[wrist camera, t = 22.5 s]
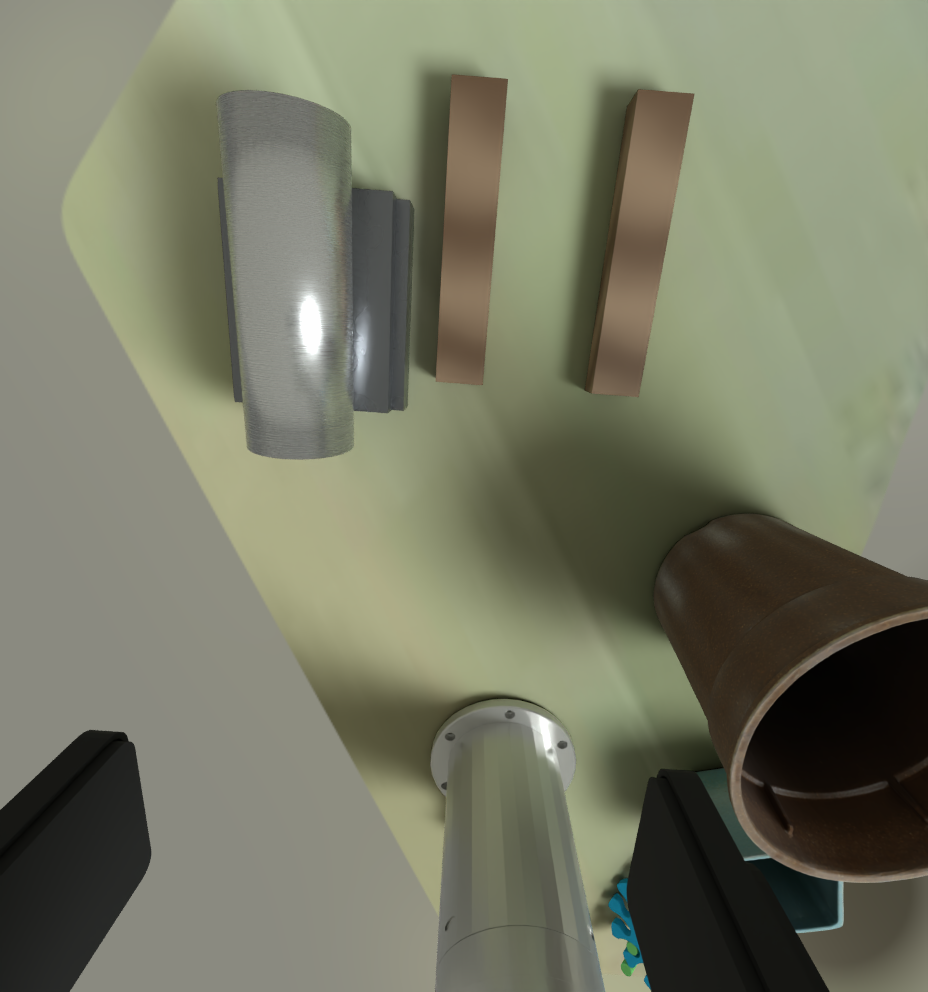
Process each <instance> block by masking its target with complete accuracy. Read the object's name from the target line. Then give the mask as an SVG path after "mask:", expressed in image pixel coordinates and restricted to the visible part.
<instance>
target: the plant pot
mask: <svg viewBox="0 0 928 992" xmlns="http://www.w3.org/2000/svg"><path fill="white" fill-rule="evenodd" d="M654 607H655V610H656V614H657V617H658V619H659V621H660V623H661V626H662V628H663V629H664V631H665V633H666V635H667V637H668V639H669V641H670V643H671V645H672V647H673V649H674V651H675V653H676V655H677V657H678V659H679V661H680V663H681V665H682V667H683V669H684V671H685V674H686V676H687V678H688V680H689V682H690V684H691V687H692V689H693V691H694V693H695V695H696V697H697V699H698V701H699V703H700V705H701V707H702V709H703V712H704V714H705V716H706V718H707V720H708V727H709V733H710V736H711V740H712V743H713V745H714V747H715V750H716V752H717V754H718V756H719V758H720V761H721V763H722V765H723V767H724V769H725V772H726V774H727V787H728V793H729V799H730V802H731V805H732V807H733V810H734V813H735V815H736V817H737V819H738V821H739V823H740V825H741V826H742V828H743V830H744V831H745V833H746V834H747V835H748V837H749V838H750V839H751V840H752V841H753V842H754V843H755V844H756V845H757V846H758V847H759V848H760V849H761V850H762V851H764V852H765V853H766V854H767V855H769V856H770V857H771V858H773V859H775V860H776V861H778V862H780V863H782V864H783V865H785V866H787V867H790V868H792V869H794V870H797V871H799V872H802V873H804V874H807V875H810V876H814V877H819V878H823V879H828V880H835V881H842V882H859V883H860V882H861V883H865V882H866V883H868V882H869V883H871V882H888V881H895V880H904V879H911V878H917V877H922V876H926V875H928V580H923V579H919V578H914V577H907V576H905V575H903V574H900V573H898V572H896V571H893V570H891V569H888V568H886V567H884V566H882V565H880V564H877V563H875V562H873V561H870V560H868V559H866V558H863V557H861V556H859V555H857V554H854V553H852V552H850V551H848V550H845V549H843V548H841V547H839V546H836V545H834V544H832V543H830V542H828V541H825V540H823V539H821V538H819V537H817V536H814V535H812V534H810V533H808V532H806V531H803V530H801V529H799V528H797V527H795V526H793V525H791V524H789V523H787V522H785V521H782V520H780V519H777V518H774V517H770V516H766V515H760V514H735V515H729V516H724V517H720V518H717V519H714V520H711V521H710V523H709V524H707V525H706V526H705V527H703V528H701V529H699V530H697V531H695V532H693V533H691V534H688V535H685V536H684V537H683V538H682V539H681V540H680V541H679V542H677V543H676V544H675V546H674V547H673V548H672V549H671V550H670V552H669V553H668V554H667V556H666V557H665V559H664V561H663V563H662V565H661V567H660V569H659V571H658V574H657V577H656V581H655V586H654Z"/></svg>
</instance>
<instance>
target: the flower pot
mask: <svg viewBox="0 0 928 992" xmlns="http://www.w3.org/2000/svg"><path fill="white" fill-rule="evenodd" d="M696 773H697V774H698V776H699V777H700V779H701V781H702V782H703V784H704V786H705V788H706V790H707V792H708V794H709V795H710V797H711V799H712V801H713V803H714V805H715V807H716V808H717V810H718V812H719V814H720V816H721V818H722V820H723V821H724V823H725V825H726V827H727V829H728V831H729V832H730V834H731V836H732V838H733V840H734V842H735V844H736V845H737V847H738V849H739V851H740V853H741V855H742V857H743V858H744V860H745V862H749V863H752V864H754V865H755V866H756V867H757V868H758V869H759V870H760V871H761V872H762V874H763V875H764V877H765V878H766V880H767V881H768V883H769V885H770V886H771V888H772V890H773V892H774V894H775V895H776V897H777V899H778V901H779V903H780V904H781V906H782V908H783V910H784V911H785V913H786V915H787V917H788V919H789V920H790V922H791V924H792V926H793V927H794V929H795V931H796V933H803V932H813V931H822V930H831V929H835V928H839V927H842V925H843V920H844V918H843V914H844V913H843V910H844V909H843V882H842V881H835V880H828V879H823V878H819V877H814V876H810V875H807V874H804V873H802V872H799V871H797V870H794V869H792V868H790V867H787V866H785V865H783V864H782V863H780V862H778V861H776V860H775V859H773V858H771V857H770V856H769V855H767V854H766V853H765V852H764V851H762V850H761V849H760V848H759V847H758V846H757V845H756V844H755V843H754V842H753V841H752V840H751V839H750V838H749V837H748V835H747V834H746V833H745V831H744V830H743V828H742V826H741V825H740V823H739V821H738V819H737V817H736V815H735V813H734V810H733V807H732V805H731V802H730V799H729V793H728V787H727V774H726V772H725V769H724V768H722V769H715V770H708V771H701V772H696Z"/></svg>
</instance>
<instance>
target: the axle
mask: <svg viewBox="0 0 928 992" xmlns="http://www.w3.org/2000/svg"><path fill="white" fill-rule="evenodd" d="M216 107H217V118H218V129H219V140H220V152H221V163H222V174H223V185H224V196H225V208H226V219H227V230H228V241H229V252H230V264H231V275H232V286H233V297H234V308H235V320H236V331H237V342H238V353H239V364H240V376H241V387H242V398H243V409H244V420H245V432H246V443H247V448H248V450H249V451H251V452H253V453H255V454H258V455H261V456H266V457H272V458H280V459H317V458H326V457H332V456H337V455H340V454H344V453H346V452H348V451H350V450H351V449H352V448H353V447H354V407H353V285H352V164H351V126H350V125H349V123H348V122H347V121H346V120H345V119H344V118H343V117H342V116H340V115H339V114H337V113H335V112H334V111H332V110H330V109H328V108H326V107H324V106H321V105H319V104H316V103H313V102H311V101H308V100H304V99H301V98H298V97H294V96H289V95H285V94H280V93H274V92H266V91H253V90H243V91H233V92H228V93H225V94H222V95H221V96H219V97H218V98H217V101H216Z"/></svg>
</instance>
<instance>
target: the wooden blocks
mask: <svg viewBox="0 0 928 992" xmlns="http://www.w3.org/2000/svg"><path fill="white" fill-rule="evenodd" d="M507 84H508V79H502V78H489V77H477V76H464V75H452V80H451V99H450V118H449V137H448V156H447V175H446V194H445V213H444V232H443V251H442V270H441V289H440V309H439V328H438V347H437V366H436V382H448V383H461V384H474V385H483V374H484V362H485V350H486V338H487V326H488V313H489V301H490V289H491V277H492V265H493V253H494V241H495V229H496V217H497V205H498V192H499V180H500V168H501V156H502V144H503V132H504V120H505V108H506V96H507ZM693 99H694V94H691V93H678V92H666V91H653V90H641V89H638V91H637V92H636V94H635V95H634V97H633V98H632V100H631V102H630V103H629V105H628V106H627V110H626V117H625V124H624V130H623V137H622V144H621V150H620V157H619V164H618V171H617V177H616V184H615V191H614V197H613V204H612V211H611V218H610V224H609V231H608V238H607V244H606V251H605V258H604V265H603V271H602V278H601V285H600V292H599V298H598V305H597V312H596V318H595V325H594V332H593V339H592V345H591V352H590V359H589V365H588V372H587V379H586V386H585V391H588V392H590V393H593V394H607V395H620V396H633V397H639V392H640V386H641V381H642V375H643V370H644V365H645V359H646V354H647V348H648V343H649V337H650V332H651V327H652V321H653V316H654V310H655V305H656V299H657V294H658V289H659V283H660V278H661V272H662V267H663V261H664V256H665V251H666V245H667V240H668V234H669V229H670V223H671V218H672V213H673V207H674V202H675V196H676V191H677V185H678V180H679V175H680V169H681V164H682V158H683V153H684V148H685V142H686V137H687V131H688V126H689V120H690V115H691V110H692V104H693Z"/></svg>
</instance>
